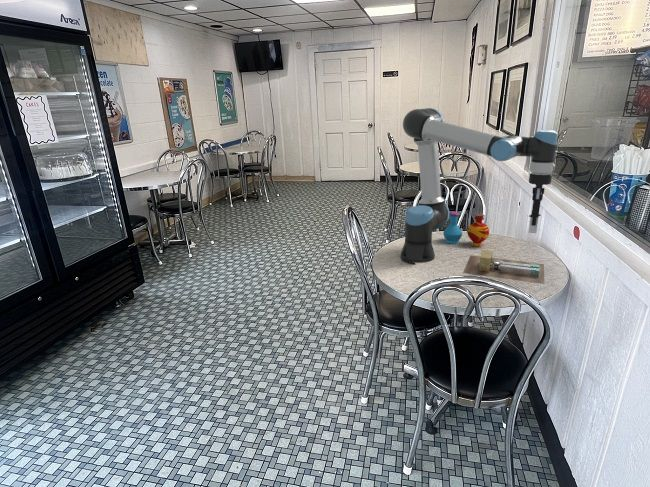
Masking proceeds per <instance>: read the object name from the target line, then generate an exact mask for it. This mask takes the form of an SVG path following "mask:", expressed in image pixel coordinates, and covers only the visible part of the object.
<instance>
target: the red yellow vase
mask: <svg viewBox="0 0 650 487" xmlns="http://www.w3.org/2000/svg"><path fill="white" fill-rule="evenodd" d="M474 220H475V221H473V222H472V223H470V224H469V225H468V227H467V230H466V233H467V236H468V238H469V239H470V241H471V245H472V246H474V247H482V246H483V242H484V241H485V240H487V239H488V238H489V236H490V228H489V226H488V225H487V224H486V223H484V222H483V221H484V220H485V214H483V213H476V214H474Z"/></svg>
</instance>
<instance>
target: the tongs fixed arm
mask: <svg viewBox="0 0 650 487" xmlns="http://www.w3.org/2000/svg"><path fill="white" fill-rule="evenodd" d="M479 263H480V262H479V261H478V263H477V267H479ZM498 268H499V265H494V264H492V263H490V269H494V270H498ZM500 272H505V273H513V274H520V275H528V276H535V277H539V269H538V268H528V267H520V266H512V265H504V264H501V268H500Z"/></svg>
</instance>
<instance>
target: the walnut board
mask: <svg viewBox="0 0 650 487" xmlns="http://www.w3.org/2000/svg"><path fill="white" fill-rule="evenodd" d="M480 256H481V255H480ZM480 256H479V255H469V258H468V261H467V262H466V265H465V267H464V270H463V274H471V275H477V276H486V277H491V278H492V277H493V278H498V279H500V278H501V279H507V280H514V281H519V282H520V281H521V282H529V283H535V284H542V285H545V283H546V282H545V264H544V263H538V262H530V261H522V260H521V261H520V260H513V259H512V260H511V259H504V258H497V257H496V258H495V257H492V261H497V260H498V261H503V262H510V263H520V264H534V265H539V277H535V276H528V275H520V274H513V273H505V272H500V268H501V264H500V265H499V268H498V270H494V269H490V272H485V271H479V267H477V263H478V261H479V262H480Z"/></svg>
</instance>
